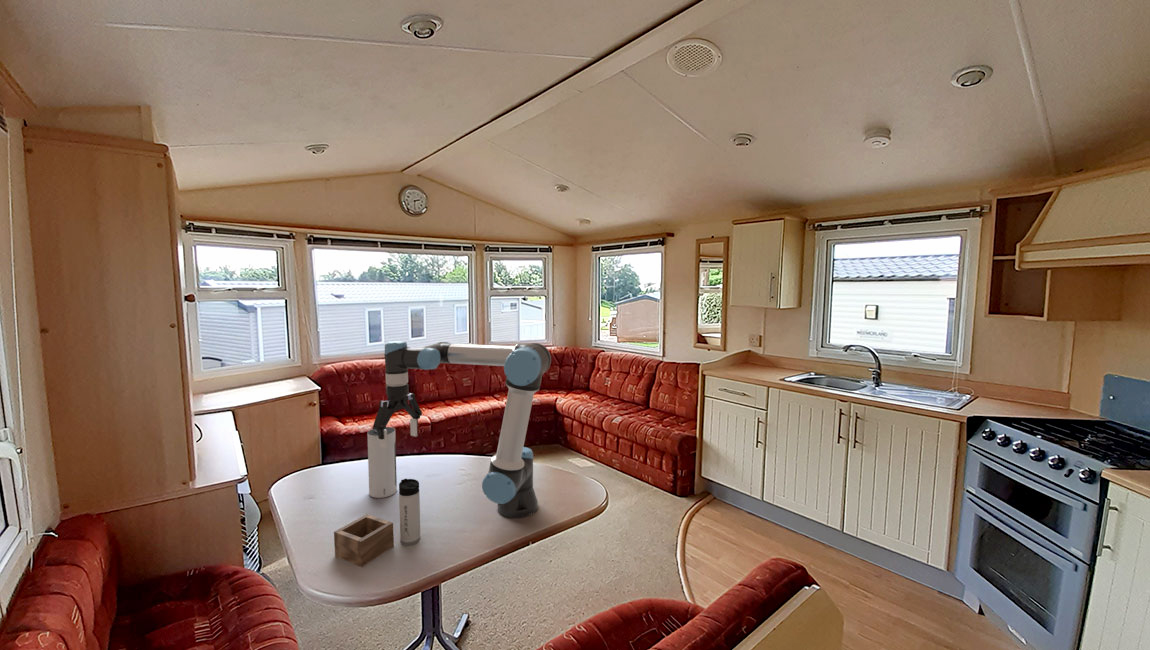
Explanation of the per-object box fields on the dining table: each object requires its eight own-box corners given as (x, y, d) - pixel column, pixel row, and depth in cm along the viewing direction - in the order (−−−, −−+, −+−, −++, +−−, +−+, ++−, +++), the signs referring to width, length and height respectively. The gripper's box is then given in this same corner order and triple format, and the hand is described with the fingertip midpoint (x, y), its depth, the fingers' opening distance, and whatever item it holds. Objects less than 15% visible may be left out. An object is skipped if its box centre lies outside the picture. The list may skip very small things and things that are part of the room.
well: (393, 546, 146) (393, 522, 145) (362, 567, 135) (361, 541, 135) (367, 536, 151) (366, 514, 151) (335, 556, 141) (333, 531, 140)
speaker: (397, 496, 180) (395, 432, 177) (368, 500, 176) (365, 435, 173) (396, 485, 190) (395, 424, 187) (369, 489, 186) (367, 427, 183)
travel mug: (413, 532, 154) (411, 475, 152) (424, 539, 150) (422, 481, 148) (396, 540, 150) (394, 482, 148) (406, 548, 145) (405, 488, 143)
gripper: (416, 376, 176) (418, 429, 178) (359, 390, 154) (362, 450, 156) (430, 378, 172) (432, 432, 174) (374, 392, 150) (377, 454, 152)
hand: (399, 441), depth 165 cm, fingers open, 13 cm apart
